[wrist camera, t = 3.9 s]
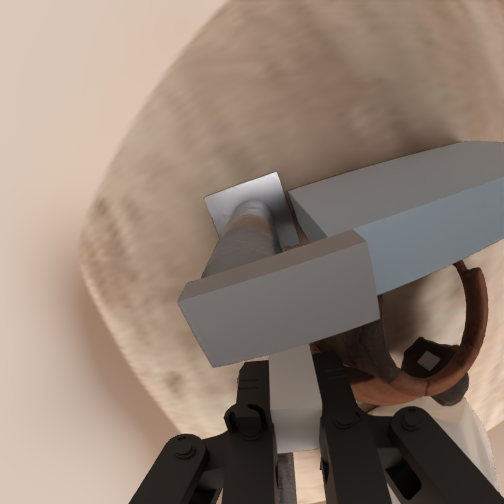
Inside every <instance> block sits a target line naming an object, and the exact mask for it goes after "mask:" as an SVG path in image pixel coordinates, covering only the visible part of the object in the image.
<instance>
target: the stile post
mask: <svg viewBox="0 0 504 504" xmlns="http://www.w3.org/2000/svg"><path fill="white" fill-rule="evenodd" d="M238 382H239V378H238V379H237V383H238ZM277 455H278V466H279V489H280V504H297V497H296V484H295V471H294V458H293V452H289V453H278V454H277Z"/></svg>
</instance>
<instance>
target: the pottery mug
mask: <svg viewBox="0 0 504 504" xmlns="http://www.w3.org/2000/svg"><path fill="white" fill-rule="evenodd" d="M452 265H454V266H455V267H456V269H457V271H458V273H459V275H460V277H461V280H462V283H463V287H464V292H465V297H466V322H465V329H464V333H463V336H462V341H461V344H460V346H458V345H452V346H450V345H447V344H438V343H435V342H433V341H430V340H426V339H424V338H423V337H419V338H418V339H417V340H416V341H415V342H414V344H413V345H412V346H410V347H409V348H408V349H407V350H405V352H404V358H403V361H402V365H401V369H400V368H398V367H397V366H396V364H395V362H394V361H393V359H392V358H391V356H390V354H389V352H388V349H387V347H386V343H385V339H384V333H383V327H382V302H383V293H382V294H380V295H377V298H378V305H379V312H380V319H378V320H375V321H373V322H370V323H367V324H365V325H362V326H359V327H356V328H354V329H351V330H348V331H345V332H342V333H339V334H336V335H333V336H330V337H327V338H324V339H321V340H319V341H320V348H321V351H320V350H319V349H318V348H317V346H316V345H314V344H313V345H311V346H310V351H311V354H317V353H321V352H322V353H323V352H330V351H334V352H335V353H336V354H337V355H338V356H339V357H340V358H341V359H342V362H343V364H345V365H347V366H350V367H347V366H344V369H345V371H346V374H347V377H348V379H349V382H350V385H351V388H352V391H353V394H354V397H355V400H357V401H360V402H364V403H369V404H373V405H382V406H392V405H399V404H404V403H408V402H411V401H414V400H416V399H417V398H421V397H423V396H430V397H431V398H432V399H434V400H435V401H436V402H437V403H438V404H440V405H442V406H453V405H456V404H457V403H459V402H460V401H461V400H462V398H463V396H464V394H465V393H466V391H467V390H468V386H469V376H468V373H467V371H468V370H469V369H470V367H471V366H472V364H473V363H474V361H475V359H476V358H477V356H478V354H479V350H480V348H481V346H482V344H483V340H484V337H485V332H486V326H487V321H488V295H487V287H486V283H485V278H484V275H483V273H482V271H481V269H480V268H472V269H470V270H469V269H467V268H466V266H465V264H464V262H463V261H462V260H460V261H458V262H455V263H453V264H452Z"/></svg>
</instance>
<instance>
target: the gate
mask: <svg viewBox="0 0 504 504" xmlns="http://www.w3.org/2000/svg"><path fill="white" fill-rule="evenodd" d="M288 193H289V196H290V199H291V202H292V205H293V208H294V211H295V214H296V217H297V220H298V223H299V225H300V227H301V228H302V230H303V232H304V233H305V235H306V237H307V239H308V240H309V242H310V243H309V244H306V245H303V246H300V247H297V248H294V249H291V250H288V251H285V252H282V253H279V254H276V255H273V256H270V257H267V258H264V259H261V260H258V261H255V262H251V263H248V264H245V265H242V266H239V267H236V268H233V269H230V270H227V271H224V272H221V273H217V274H214V275H211V276H208V277H205V278H202V279H199V280H196V281H192V282H189V283H187V285H186V286H185V288H184V290H183V292H182V294H181V295H180V297H179V299H178V301H177V303H178V305H179V307H180V309H181V311H182V313H183V315H184V317H185V319H186V320H187V322H188V324H189V326H190V328H191V330H192V332H193V334H194V335H195V337H196V339H197V341H198V343H199V345H200V346H201V348H202V350H203V352H204V353H205V355H206V357H207V359H208V360H209V362H210V364H211V366H212V367H213V368H215V367H220V366H224V365H229V364H233V363H238V362H242V361H246V360H250V359H254V358H258V357H262V356H266V355H270V354H273V353H277V352H281V351H284V350H288V349H291V348H295V347H298V346H302V345H305V344H308V343H311V342H315V341H318V340H321V339H324V338H327V337H330V336H333V335H336V334H339V333H342V332H345V331H348V330H351V329H354V328H356V327H359V326H362V325H365V324H367V323H370V322H373V321H375V320H378V319H380V312H379V305H378V298H377V295H380V294H382V293H385V292H388V291H390V290H393V289H395V288H398V287H400V286H403V285H405V284H408V283H410V282H412V281H415V280H417V279H420V278H422V277H424V276H427V275H429V274H431V273H433V272H436V271H438V270H440V269H442V268H445V267H447V266H449V265H451V264H453V263H455V262H458V261H460V260H462V259H464V258H466V257H468V256H470V255H472V254H474V253H476V252H478V251H480V250H482V249H484V248H486V247H488V246H490V245H492V244H494V243H496V242H498V241H500V240H501V239H503V238H504V142H479V141H465V142H460V143H456V144H452V145H447V146H443V147H439V148H435V149H431V150H427V151H423V152H419V153H415V154H411V155H408V156H404V157H400V158H396V159H393V160H389V161H385V162H382V163H378V164H375V165H371V166H368V167H364V168H361V169H357V170H354V171H351V172H347V173H344V174H341V175H337V176H334V177H331V178H327V179H324V180H321V181H318V182H315V183H311V184H308V185H305V186H302V187H299V188H296V189H293V190H290V191H288Z"/></svg>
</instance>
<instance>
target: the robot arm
mask: <svg viewBox="0 0 504 504" xmlns="http://www.w3.org/2000/svg"><path fill="white" fill-rule="evenodd" d="M224 420H225V423H226V426H227V429H228V430H227V431H226V432H224V433H222V434H220V435H217V436H214V437H210V438H206V439H202V440H201V439H200V437H198V436H195V435H193V434H181V435H177V436H175V437H173V438H171V439H170V440H169V441H168V442H167V443H166V445H165V446H164V448H163V450H162V451H161V453H160V454H159V456H158V458H157V459H156V461H155V462H154V464H153V466H152V467H151V469H150V470H149V472H148V474H147V475H146V477H145V479H144V480H143V482H142V483H141V485H140V487H139V488H138V490H137V491H136V493H135V494H134V496H133V497H132V499H131V501H130V502H129V504H216V502H217V500H218V497H219V495H220V493H221V490H222V488H223V494H222V504H280V489H279V466H278V455H277V454H278V453H289V452H298V451H306V450H314V449H319V448H320V450H321V463H320V470H322V474H323V481H324V489H325V496H326V504H392V500H391V496H390V493H389V489H388V486H387V484H388V485H389V487H390V488H391V490H392V491H393V493H394V494H395V496H396V497H397V499H398V500H399V502H400V503H401V504H504V498H503V497H502V496H501V494H500V493H499V492H498V491H497V490H496V489H495V487H494V486H493V485H492V484H491V483H490V482H489V480H488V479H487V478H486V477H485V476H484V475H483V474H482V472H481V471H480V470H479V469H478V468H477V467H476V466H475V464H474V463H473V462H472V461H471V460H470V459H469V458H468V456H467V455H466V454H465V453H464V452H463V451H462V450H461V449H460V448H459V446H458V445H457V444H456V443H455V442H454V441H453V440H452V439H451V437H450V436H449V435H448V434H447V433H446V432H445V431H444V430H443V429H442V428H441V426H440V425H439V424H438V423H437V422H436V421H435V420H434V419H433V418H432V417H431V415H430V414H429V413H428V412H427V411H425V410H424V409H422V408H420V407H416V406H407V407H404V408H401V409H400V410H398V411H397V412H396V413H395V414H394V416H374V415H370V414H367V413H365V412H364V411H362V410H361V409H360V408H359V407H358V405H357V403H356V400H355V397H354V394H353V391H352V388H351V385H350V382H349V379H348V377H347V374H346V371H345V369H344V365H343V362H342V359H341V358H340V357H339V356H338V355H337V354H336V353H335V352H334V351H330V352H323V353H317V354H311V351H310V347H309V343H308V344H305V345H302V346H298V347H295V348H291V349H288V350H284V351H281V352H277V353H273V354H270V355H269V360H264V361H252V362H245V363H244V365H243V366H242V368H241V369H240V371H239V382H238V391H237V401H236V404H235V405H233V406H231V407H230V408H229V409H228V410H227V411H226V413H225V416H224Z"/></svg>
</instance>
